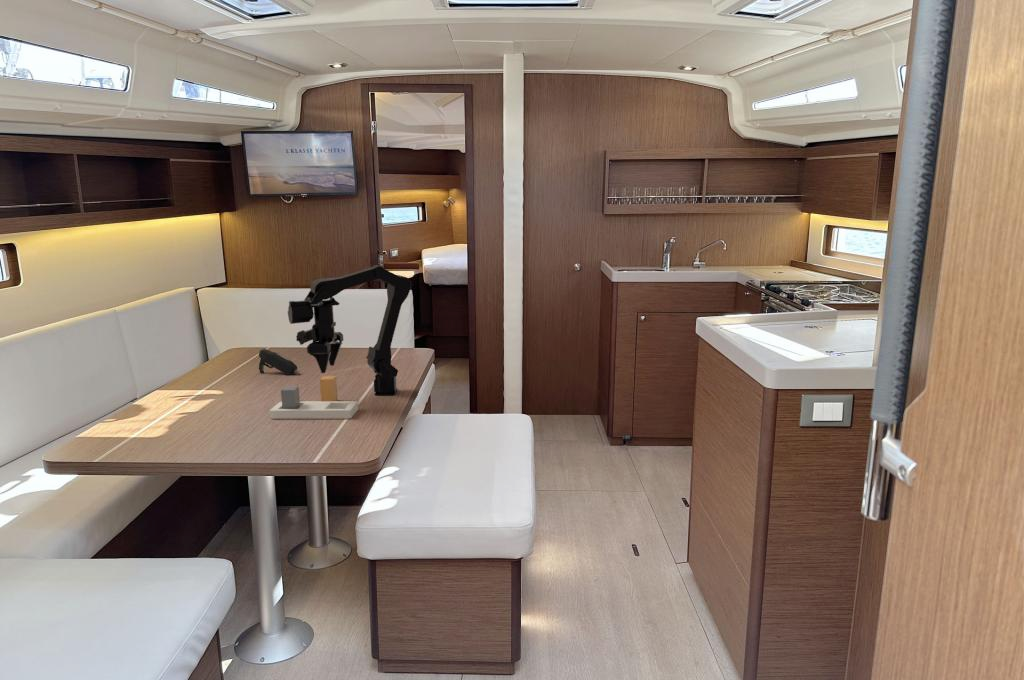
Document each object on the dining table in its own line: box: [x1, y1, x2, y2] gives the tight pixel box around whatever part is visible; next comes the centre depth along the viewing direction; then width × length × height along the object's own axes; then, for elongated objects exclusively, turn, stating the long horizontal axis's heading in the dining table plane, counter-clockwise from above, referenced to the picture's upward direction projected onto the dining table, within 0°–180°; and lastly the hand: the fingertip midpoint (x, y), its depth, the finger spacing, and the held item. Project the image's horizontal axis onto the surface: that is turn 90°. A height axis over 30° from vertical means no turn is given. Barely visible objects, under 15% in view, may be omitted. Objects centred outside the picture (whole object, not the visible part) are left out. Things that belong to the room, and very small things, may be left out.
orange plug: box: [319, 375, 339, 401], centre depth 218 cm, size 4×4×8 cm
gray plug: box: [280, 385, 301, 409], centre depth 206 cm, size 4×4×8 cm
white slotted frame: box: [268, 400, 359, 420], centre depth 207 cm, size 24×9×2 cm, turn 88°
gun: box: [258, 348, 300, 376], centre depth 253 cm, size 3×16×10 cm, turn 78°
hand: (327, 369), depth 216 cm, fingers open, 9 cm apart
